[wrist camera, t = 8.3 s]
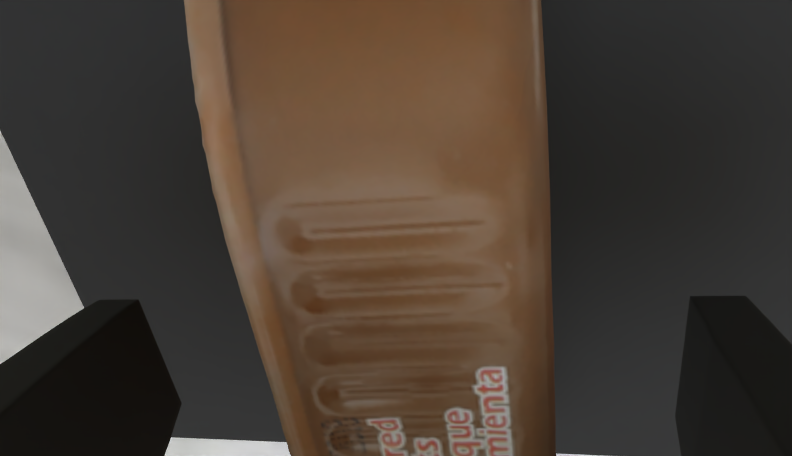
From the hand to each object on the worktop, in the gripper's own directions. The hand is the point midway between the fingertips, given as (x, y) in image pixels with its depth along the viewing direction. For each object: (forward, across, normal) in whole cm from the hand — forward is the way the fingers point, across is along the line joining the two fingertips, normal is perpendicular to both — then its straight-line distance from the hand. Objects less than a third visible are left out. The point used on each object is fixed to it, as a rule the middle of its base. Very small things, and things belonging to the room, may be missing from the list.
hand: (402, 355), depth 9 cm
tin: (+6, 0, 0) cm, 6 cm away
